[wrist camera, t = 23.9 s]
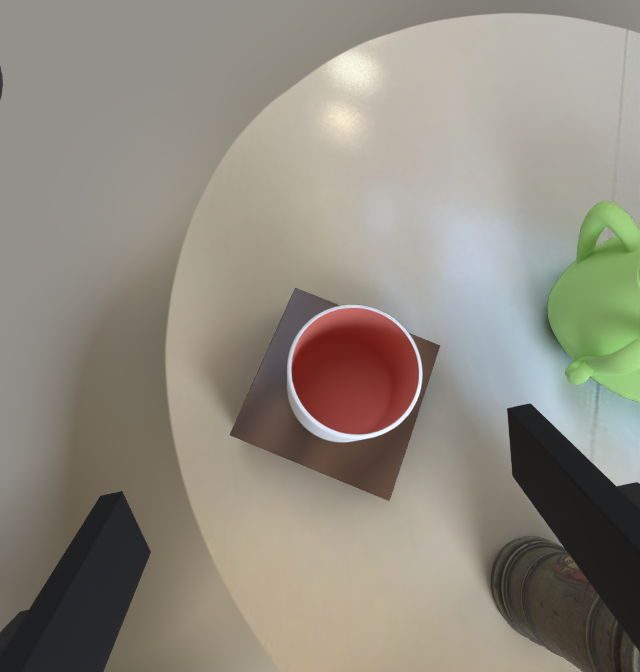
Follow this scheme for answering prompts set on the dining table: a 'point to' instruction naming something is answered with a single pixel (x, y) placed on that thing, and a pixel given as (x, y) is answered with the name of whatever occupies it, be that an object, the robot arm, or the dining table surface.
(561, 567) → the container
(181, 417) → the dining table surface
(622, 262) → the teapot
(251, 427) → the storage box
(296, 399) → the cup
